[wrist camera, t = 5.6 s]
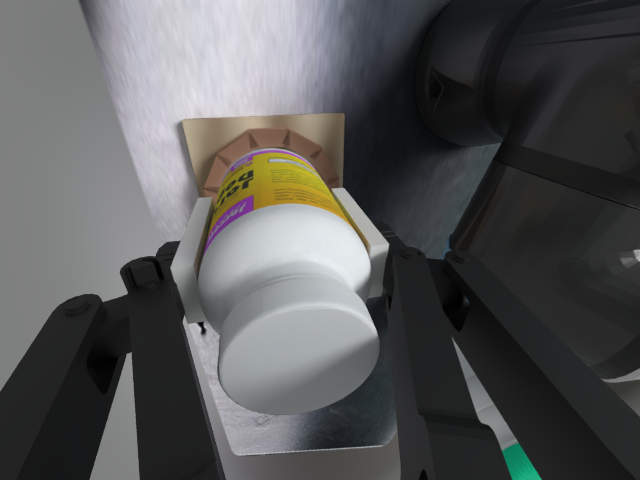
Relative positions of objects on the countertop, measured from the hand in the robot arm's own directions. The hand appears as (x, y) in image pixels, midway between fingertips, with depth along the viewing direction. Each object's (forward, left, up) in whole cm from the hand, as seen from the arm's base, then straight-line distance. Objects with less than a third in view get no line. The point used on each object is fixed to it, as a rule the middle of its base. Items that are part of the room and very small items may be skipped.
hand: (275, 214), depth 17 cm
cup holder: (-3, +4, -17) cm, 18 cm away
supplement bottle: (0, 0, -3) cm, 3 cm away
